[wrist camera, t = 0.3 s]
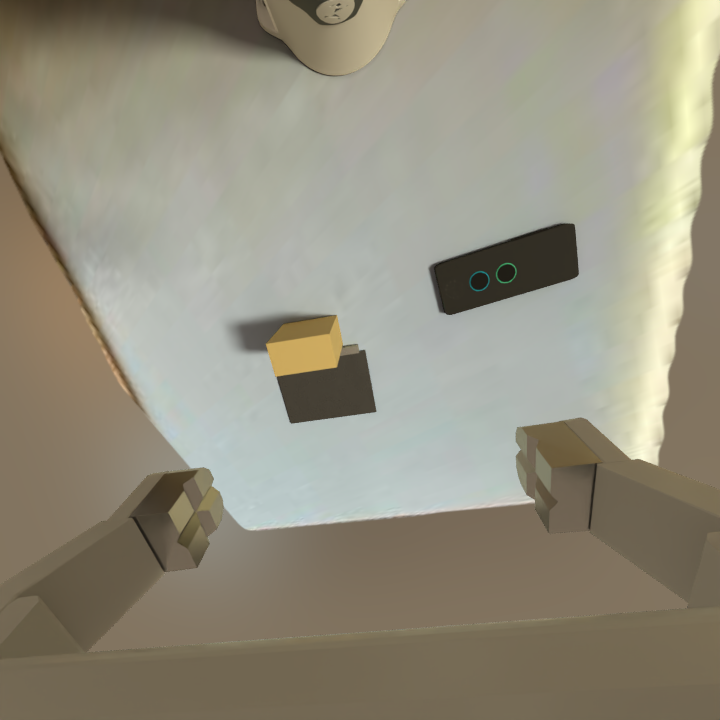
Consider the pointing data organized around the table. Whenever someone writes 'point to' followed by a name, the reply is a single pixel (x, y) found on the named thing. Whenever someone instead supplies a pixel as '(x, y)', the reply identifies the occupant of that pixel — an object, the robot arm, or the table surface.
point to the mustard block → (305, 346)
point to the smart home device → (508, 269)
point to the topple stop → (330, 389)
